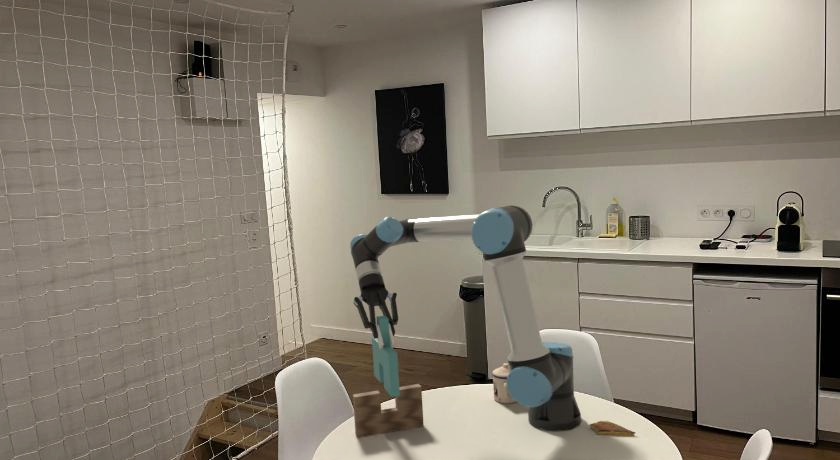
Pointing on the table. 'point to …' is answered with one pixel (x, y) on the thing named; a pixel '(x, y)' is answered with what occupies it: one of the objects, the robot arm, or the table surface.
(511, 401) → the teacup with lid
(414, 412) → the walnut slotted plate
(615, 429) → the pie slice
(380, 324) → the teal slotted plate
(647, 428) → the table surface
